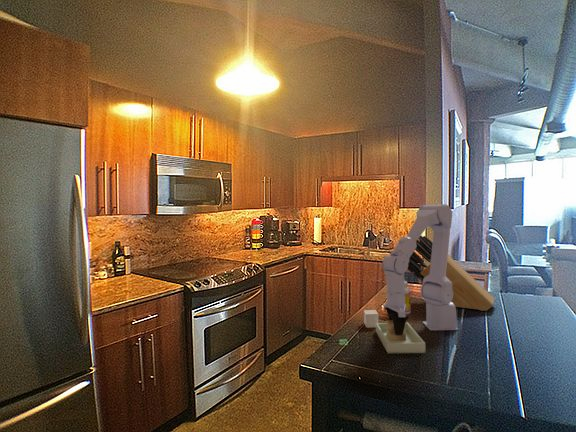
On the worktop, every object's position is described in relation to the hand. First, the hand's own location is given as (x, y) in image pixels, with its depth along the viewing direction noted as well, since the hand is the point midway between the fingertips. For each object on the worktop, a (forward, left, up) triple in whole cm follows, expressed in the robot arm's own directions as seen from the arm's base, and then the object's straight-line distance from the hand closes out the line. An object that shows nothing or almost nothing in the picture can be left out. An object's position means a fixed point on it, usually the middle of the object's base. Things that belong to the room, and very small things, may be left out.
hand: (396, 331), depth 110 cm
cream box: (+6, -13, -3) cm, 15 cm away
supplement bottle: (-9, -26, -3) cm, 28 cm away
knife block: (-31, -37, -3) cm, 48 cm away
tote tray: (0, +2, -2) cm, 3 cm away
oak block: (0, 0, -2) cm, 2 cm away
